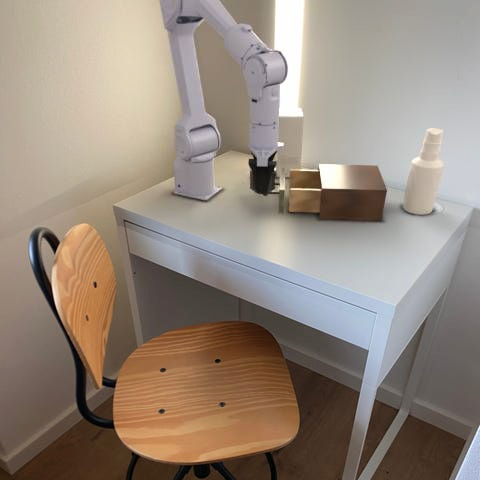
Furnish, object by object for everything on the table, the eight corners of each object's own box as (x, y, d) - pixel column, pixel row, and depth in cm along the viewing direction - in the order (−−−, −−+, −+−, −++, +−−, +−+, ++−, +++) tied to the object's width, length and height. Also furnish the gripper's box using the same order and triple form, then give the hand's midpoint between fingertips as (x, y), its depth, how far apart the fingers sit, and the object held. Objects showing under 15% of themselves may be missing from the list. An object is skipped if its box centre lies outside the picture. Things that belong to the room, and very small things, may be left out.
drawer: (261, 213, 115) (261, 189, 112) (263, 189, 126) (263, 166, 122) (335, 215, 114) (338, 191, 111) (331, 191, 125) (334, 168, 121)
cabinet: (318, 219, 114) (322, 188, 110) (316, 193, 126) (318, 164, 121) (381, 221, 114) (387, 190, 109) (372, 194, 125) (377, 165, 120)
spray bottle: (433, 204, 120) (452, 127, 109) (431, 217, 115) (452, 137, 104) (403, 200, 122) (419, 124, 111) (400, 212, 117) (417, 133, 106)
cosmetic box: (300, 178, 133) (305, 116, 124) (275, 178, 133) (277, 116, 124) (297, 166, 140) (302, 107, 130) (274, 166, 140) (276, 107, 130)
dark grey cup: (274, 196, 106) (275, 174, 103) (249, 195, 106) (249, 173, 103) (275, 186, 110) (276, 164, 107) (250, 185, 110) (250, 163, 107)
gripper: (284, 133, 93) (281, 202, 101) (284, 111, 105) (281, 174, 113) (246, 132, 94) (245, 201, 102) (250, 110, 105) (249, 173, 113)
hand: (262, 187), depth 107 cm, fingers closed on dark grey cup, 5 cm apart
